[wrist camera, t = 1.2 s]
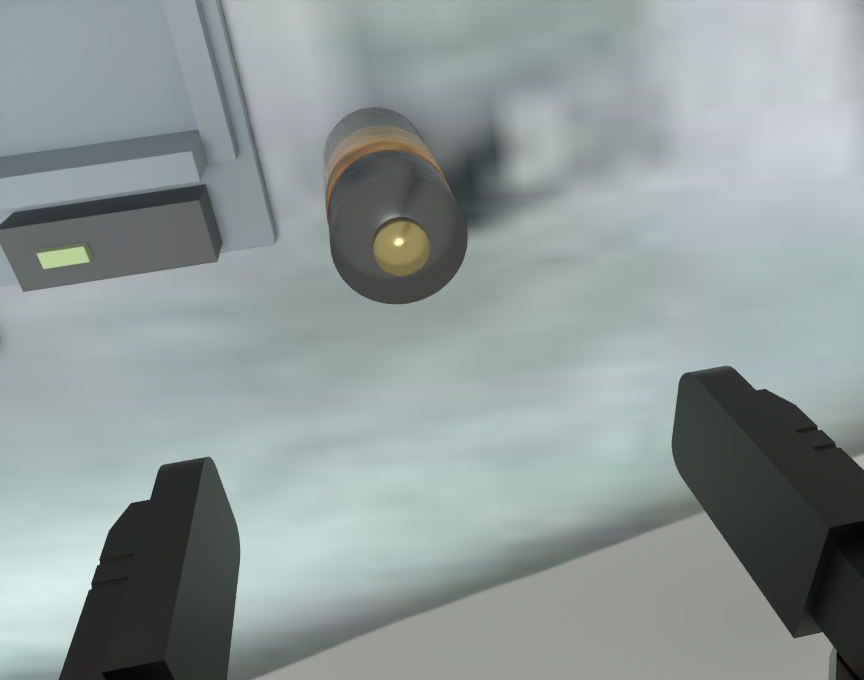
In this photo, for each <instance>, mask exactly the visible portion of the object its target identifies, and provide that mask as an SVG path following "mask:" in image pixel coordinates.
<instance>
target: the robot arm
mask: <svg viewBox="0 0 864 680" xmlns="http://www.w3.org/2000/svg"><path fill="white" fill-rule="evenodd" d="M672 452H673V457H674V461H675V464H676V467H677V469H678V471H679V473H680V475H681V477H682V478H683V480H684V481H685V483H686V484H687V486H688V487H689V488H690V490H691V491H692V493H693V494H694V496H695V497H696V498H697V500H698V501H699V503H700V504H701V506H702V507H703V509H704V510H705V511H706V513H707V514H708V516H709V517H710V519H711V520H712V521H713V523H714V524H715V526H716V527H717V529H718V530H719V531H720V533H721V534H722V535H723V537H724V539H725V540H726V542H727V543H728V544H729V546H730V547H731V549H732V550H733V551H734V553H735V554H736V556H737V557H738V559H739V560H740V562H741V563H742V564H743V566H744V567H745V568H746V570H747V572H748V573H749V574H750V576H751V577H752V579H753V580H754V581H755V583H756V584H757V586H758V587H759V589H760V590H761V592H762V593H763V595H764V596H765V597H766V599H767V600H768V602H769V603H770V605H771V606H772V608H773V609H774V610H775V612H776V613H777V615H778V616H779V617H780V619H781V620H782V622H783V623H784V625H785V626H786V628H787V629H788V630H789V632H790V633H791V635H792V636H793V638H797V637H802V636H807V635H812V634H816V633H820V632H823V633H824V634H825V635H826V637H827V638H828V639H829V641H830V642H831V643H832V645H833V648H832V651H831V654H830V659H829V680H864V470H863V469H862V468H861V467H860V466H859V465H858V464H857V463H856V462H855V461H854V460H853V459H852V458H851V457H849V456H848V455H847V454H846V453H845V452H844V451H843V450H842V449H841V448H837V447H836V445H835V442H834V441H833V440H832V439H831V438H830V437H828V436H827V435H826V434H825V433H824V432H823V431H822V430H818V428H817V425H816V424H815V423H814V422H813V421H812V420H811V419H810V418H809V417H807V416H806V415H805V414H804V413H803V412H802V411H801V410H800V409H799V408H798V407H797V406H796V405H794V404H793V403H791V402H789V401H787V400H785V399H783V398H781V397H779V396H777V395H775V394H774V393H772V392H770V391H768V390H766V389H762V390H757V391H756V390H755V389H754V388H753V387H752V386H751V385H750V384H749V383H748V382H747V381H746V380H745V379H744V378H743V377H742V376H741V375H740V374H739V373H738V372H737V371H736V370H735V369H734V368H732V367H730V366H722V367H716V368H711V369H705V370H700V371H694V372H688V373H685V374H683V375H682V377H681V379H680V381H679V387H678V395H677V403H676V411H675V419H674V427H673V435H672ZM99 560H100V565H97V568H96V571H95V574H94V577H93V580H92V583H91V585H92V589H91V590H89V592H88V595H87V598H86V601H85V604H84V607H83V610H82V612H81V615H80V618H79V621H78V624H77V627H76V630H75V633H74V636H73V639H72V642H71V645H70V648H69V651H68V654H67V657H66V660H65V663H64V666H63V669H62V672H61V675H60V678H59V680H227V673H228V664H229V655H230V646H231V637H232V628H233V618H234V609H235V600H236V591H237V582H238V573H239V564H240V541H239V533H238V528H237V524H236V521H235V518H234V515H233V512H232V510H231V507H230V504H229V501H228V499H227V496H226V493H225V490H224V488H223V485H222V482H221V479H220V477H219V474H218V471H217V468H216V466H215V463H214V461H213V460H212V459H211V458H210V457H204V458H199V459H193V460H187V461H182V462H176V463H170V464H165V465H162V466H161V467H160V469H159V471H158V473H157V477H156V481H155V484H154V488H153V491H152V495H151V498H150V500H146V501H140V502H135V503H131V504H130V505H129V506H128V508H127V509H126V510H125V511H124V513H123V514H122V515H121V516H120V518H119V519H118V520H117V521H116V523H115V524H114V525H113V526H112V528H111V529H110V530H109V533H108V536H107V539H106V541H105V544H104V547H103V550H102V553H101V556H100V559H99Z"/></svg>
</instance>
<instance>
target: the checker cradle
mask: <svg viewBox="0 0 864 680" xmlns="http://www.w3.org/2000/svg"><path fill="white" fill-rule="evenodd" d="M274 244H276V230H275V226H274V222H273V218H272V214H271V210H270V206H269V202H268V197H267V193H266V189H265V185H264V181H263V177H262V173H261V169H260V164H259V160H258V156H257V152H256V148H255V144H254V140H253V136H252V131H251V127H250V123H249V119H248V115H247V111H246V107H245V103H244V98H243V94H242V90H241V86H240V82H239V78H238V74H237V69H236V65H235V61H234V57H233V53H232V49H231V45H230V41H229V36H228V32H227V28H226V24H225V20H224V16H223V12H222V8H221V3H220V0H0V287H3V286H9V285H16V284H20V286H21V288H22V290H23V292H26V291H32V290H38V289H45V288H51V287H58V286H64V285H71V284H77V283H83V282H90V281H96V280H103V279H109V278H115V277H122V276H128V275H135V274H141V273H148V272H154V271H160V270H167V269H173V268H180V267H186V266H193V265H199V264H205V263H212V262H217V261H218V257H219V254H220V253H223V252H229V251H236V250H242V249H248V248H255V247H261V246H268V245H274Z"/></svg>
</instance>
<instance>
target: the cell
mask: <svg viewBox="0 0 864 680" xmlns="http://www.w3.org/2000/svg"><path fill="white" fill-rule="evenodd" d="M325 195H326V211H327V220H328V225H329V233H330V247H331V254H332V258H333V262H334V264H335V266H336V269H337V271H338V272H339V274H340V276H341V277H342V278H343V280H344V281H345V282H346V283H347V284H348V285H349V286H350V287H351V288H352V289H353V290H355V291H356V292H357V293H359V294H361V295H362V296H364V297H366V298H368V299H371V300H374V301H377V302H381V303H387V304H406V303H411V302H416V301H419V300H422V299H425V298H427V297H429V296H431V295H433V294H434V293H436V292H438V291H439V290H440V289H442V288H443V287H444V286H445V285H446V284H447V283H448V282H449V281H450V280H451V279H452V278H453V277H454V275H455V274H456V273H457V271H458V269H459V268H460V266H461V264H462V261H463V259H464V256H465V253H466V249H467V241H468V239H467V226H466V222H465V218H464V215H463V213H462V211H461V209H460V207H459V205H458V203H457V202H456V200H455V198H454V196H453V194H452V193H451V191H450V187H449V185H448V183H447V181H446V179H445V177H444V175H443V173H442V172H441V170H440V168H439V166H438V165H437V163H436V161H435V159H434V158H433V156H432V154H431V152H430V151H429V149H428V148H427V146H426V145H425V144H424V143H423V141H422V139H421V137H420V135H419V134H418V132H417V130H416V129H415V127H414V126H413V125H412V124H411V123H410V122H409V121H408V120H407V119H406V118H404V117H403V116H401V115H400V114H398V113H396V112H394V111H391V110H388V109H383V108H366V109H361V110H358V111H355V112H353V113H351V114H349V115H348V116H346V117H345V118H343V119H342V120H341V121H340V122H339V123H338V124H337V125H336V127H335V128H334V129H333V131H332V132H331V134H330V136H329V138H328V141H327V144H326V148H325Z"/></svg>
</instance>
